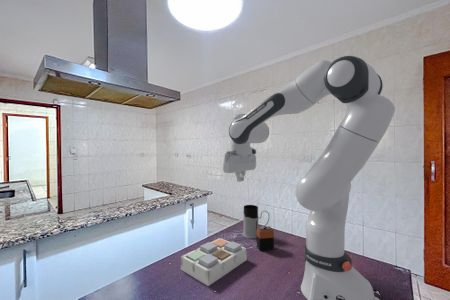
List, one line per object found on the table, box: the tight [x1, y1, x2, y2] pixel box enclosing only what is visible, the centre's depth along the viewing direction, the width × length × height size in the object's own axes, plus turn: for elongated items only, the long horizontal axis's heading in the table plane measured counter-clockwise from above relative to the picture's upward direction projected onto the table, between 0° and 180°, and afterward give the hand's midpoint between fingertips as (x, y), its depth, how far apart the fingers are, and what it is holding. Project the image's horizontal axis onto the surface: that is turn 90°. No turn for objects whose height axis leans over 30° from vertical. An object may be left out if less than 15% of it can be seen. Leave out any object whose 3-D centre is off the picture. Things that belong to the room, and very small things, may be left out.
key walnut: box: [212, 250, 230, 261], centre depth 83 cm, size 5×5×3 cm
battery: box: [256, 225, 275, 252], centre depth 99 cm, size 4×7×10 cm, turn 101°
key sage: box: [186, 251, 205, 262], centre depth 83 cm, size 5×5×3 cm
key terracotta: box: [213, 238, 228, 248], centre depth 93 cm, size 5×5×3 cm
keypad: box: [180, 237, 248, 287], centre depth 86 cm, size 15×22×6 cm
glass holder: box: [242, 204, 270, 239], centre depth 113 cm, size 9×14×15 cm, turn 67°
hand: (240, 181), depth 98 cm, fingers closed
